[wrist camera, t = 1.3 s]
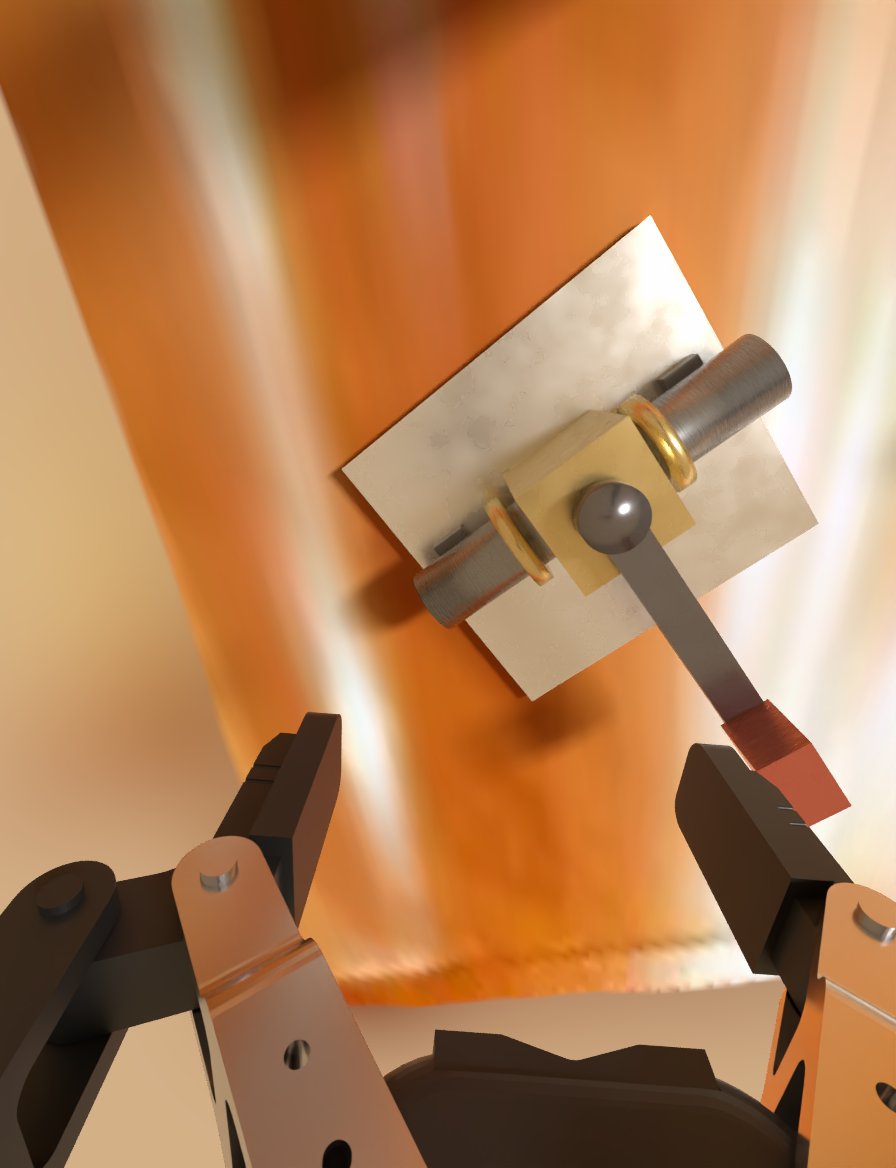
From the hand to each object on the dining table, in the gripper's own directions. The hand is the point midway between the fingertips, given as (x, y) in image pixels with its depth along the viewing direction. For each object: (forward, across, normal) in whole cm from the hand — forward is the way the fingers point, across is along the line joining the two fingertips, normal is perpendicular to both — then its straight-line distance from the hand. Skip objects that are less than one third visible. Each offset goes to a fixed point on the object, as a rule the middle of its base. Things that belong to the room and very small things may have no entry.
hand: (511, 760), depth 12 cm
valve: (+28, -6, -2) cm, 28 cm away
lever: (+18, -12, +4) cm, 22 cm away
